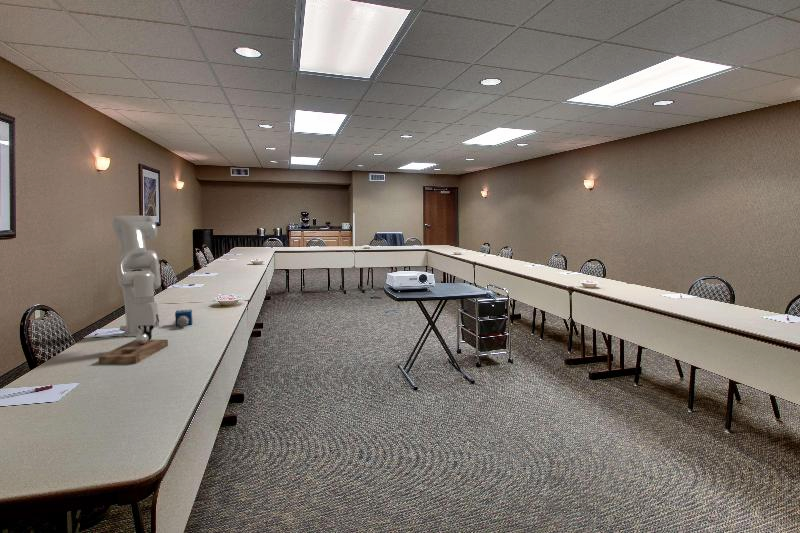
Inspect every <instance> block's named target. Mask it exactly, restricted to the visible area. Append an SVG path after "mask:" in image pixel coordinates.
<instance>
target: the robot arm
mask: <svg viewBox="0 0 800 533" xmlns="http://www.w3.org/2000/svg"><path fill="white" fill-rule="evenodd" d="M111 224H112V225H111V226H112V229H113V232H114V234H115V236H116V238H117V240H118V243H119V248H120V258H119V260H118V261H117V264H116V275H117V281H118V285H119V286H120V288H121V290H122V294H123V300H124V301H123V303H124V311H125V312H124V313H125V323H126V325H120V326H119V331H124V332H123V334H122V335H123V336H125V337H130V338H131V337H136V336H137V335H138V334H140V333H145V334H147V335H148V338H149V339H148V340H152V336H153V334H152V333H153V329H155V328H158V327H160V324H159V323H160V315H159V309H158V308H159V307H158V306H157V302H156V301H155V291H154V290H157V289H159V288H160V287H161V285H162V277H161V269H160V261H159V256H158V254H157V252H156V251H154V250H151V249H150V250H149V249H148V250H147V246H146V240H147V239H156V238H157V236H158V226H157V224H156V222H155V221H154V219H153V217H152V216H151V215H131V214H130V215H127V214H126V215H119V216H114V217H113V218H112V220H111ZM146 269H147V270H146ZM125 270H129V271H125ZM130 270H131V271H130Z"/></svg>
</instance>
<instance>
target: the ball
mask: <svg viewBox="0 0 800 533" xmlns="http://www.w3.org/2000/svg"><path fill="white" fill-rule="evenodd" d="M148 339H149V338H148V335H147V334H145V333H140V334H138V335H137V336H135V338H134V340H136V342H137V343H138V344H145V343H146V342H147V341H148Z"/></svg>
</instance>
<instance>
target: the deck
mask: <svg viewBox="0 0 800 533" xmlns="http://www.w3.org/2000/svg"><path fill="white" fill-rule="evenodd" d="M168 340H169V339H150V340H148V341H147V342H146V343H145V344H138V343H137V342H136V340H135V339H133V340H132V341H129V342H127V343H125V344H122V345H121V346H118V347H117V348H115V349H112V350H110V351H108V352H106V353H104V354H102V355H100V356H98V364H99V365H108V364H109V365H112V364H113V365H116V364H117V365H118V364H119V365H121V364H123V365H126V364H127V365H128V364H129V365H130V364H131V365H132V364H133V365H134V364H138V363H139V362H140V363H141V362H142V361H144V360H145V359H147V358H149V357H151V356H153V355H154V354H156V353H158V352H160V351H162V350H163V349H165V348H167V347H169V341H168ZM161 349H162V350H161ZM152 354H153V355H152ZM150 355H151V356H150ZM143 359H144V360H143ZM141 360H142V361H141Z"/></svg>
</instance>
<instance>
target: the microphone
mask: <svg viewBox="0 0 800 533" xmlns="http://www.w3.org/2000/svg"><path fill="white" fill-rule="evenodd" d="M174 314H175V315H174V317H175V327H176V328H178V327H177V326H181V327H188V326H187V325H192V326H193V310H192V309H181V310H175V312H174Z"/></svg>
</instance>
